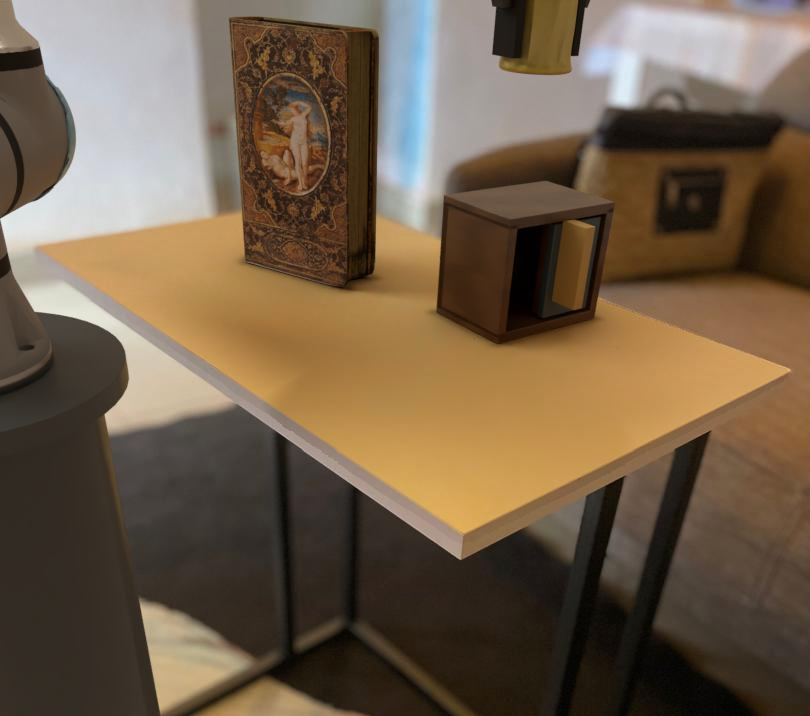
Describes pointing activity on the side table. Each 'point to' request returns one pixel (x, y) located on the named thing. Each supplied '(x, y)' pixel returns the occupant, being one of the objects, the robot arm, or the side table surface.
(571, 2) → the vase
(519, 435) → the side table surface
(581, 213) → the small wooden bookshelf
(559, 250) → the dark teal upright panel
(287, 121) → the book
